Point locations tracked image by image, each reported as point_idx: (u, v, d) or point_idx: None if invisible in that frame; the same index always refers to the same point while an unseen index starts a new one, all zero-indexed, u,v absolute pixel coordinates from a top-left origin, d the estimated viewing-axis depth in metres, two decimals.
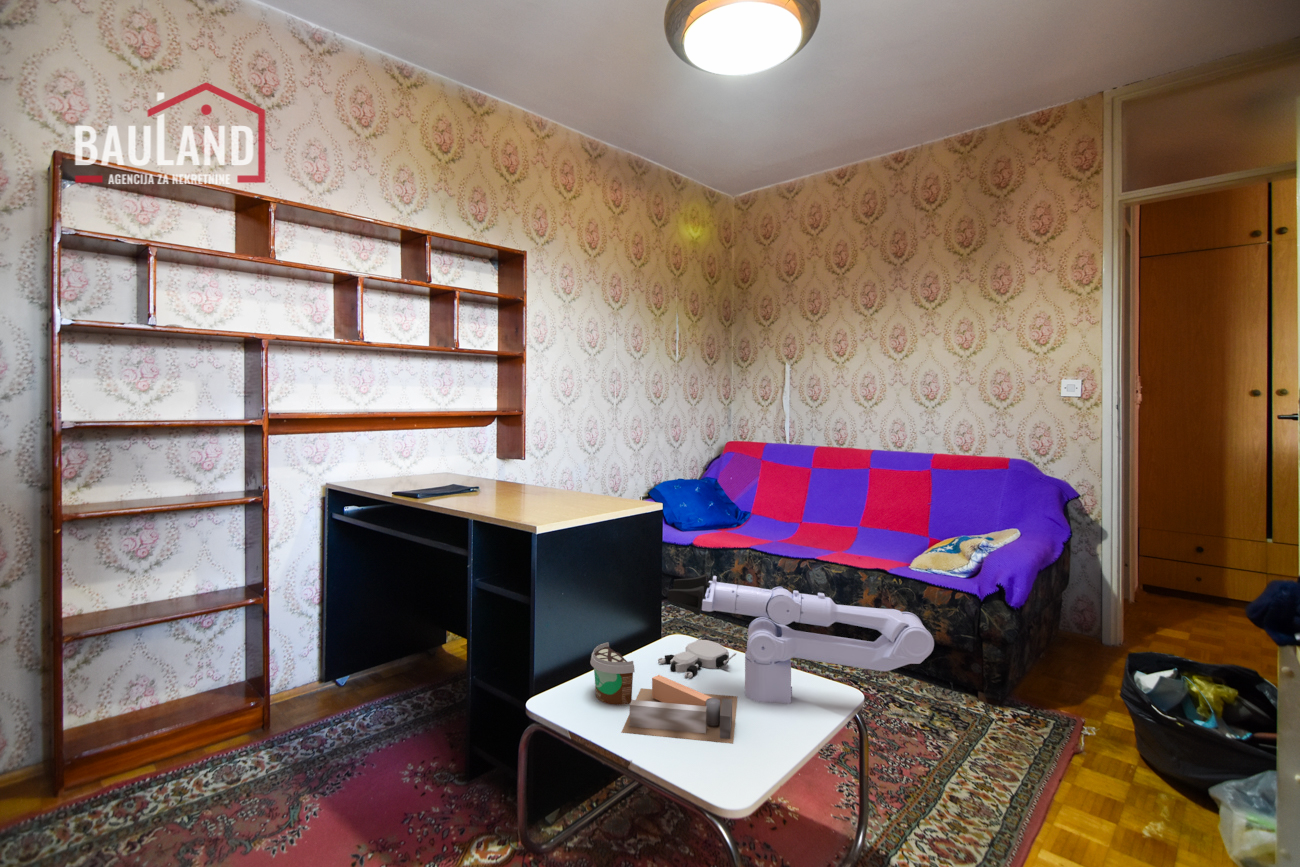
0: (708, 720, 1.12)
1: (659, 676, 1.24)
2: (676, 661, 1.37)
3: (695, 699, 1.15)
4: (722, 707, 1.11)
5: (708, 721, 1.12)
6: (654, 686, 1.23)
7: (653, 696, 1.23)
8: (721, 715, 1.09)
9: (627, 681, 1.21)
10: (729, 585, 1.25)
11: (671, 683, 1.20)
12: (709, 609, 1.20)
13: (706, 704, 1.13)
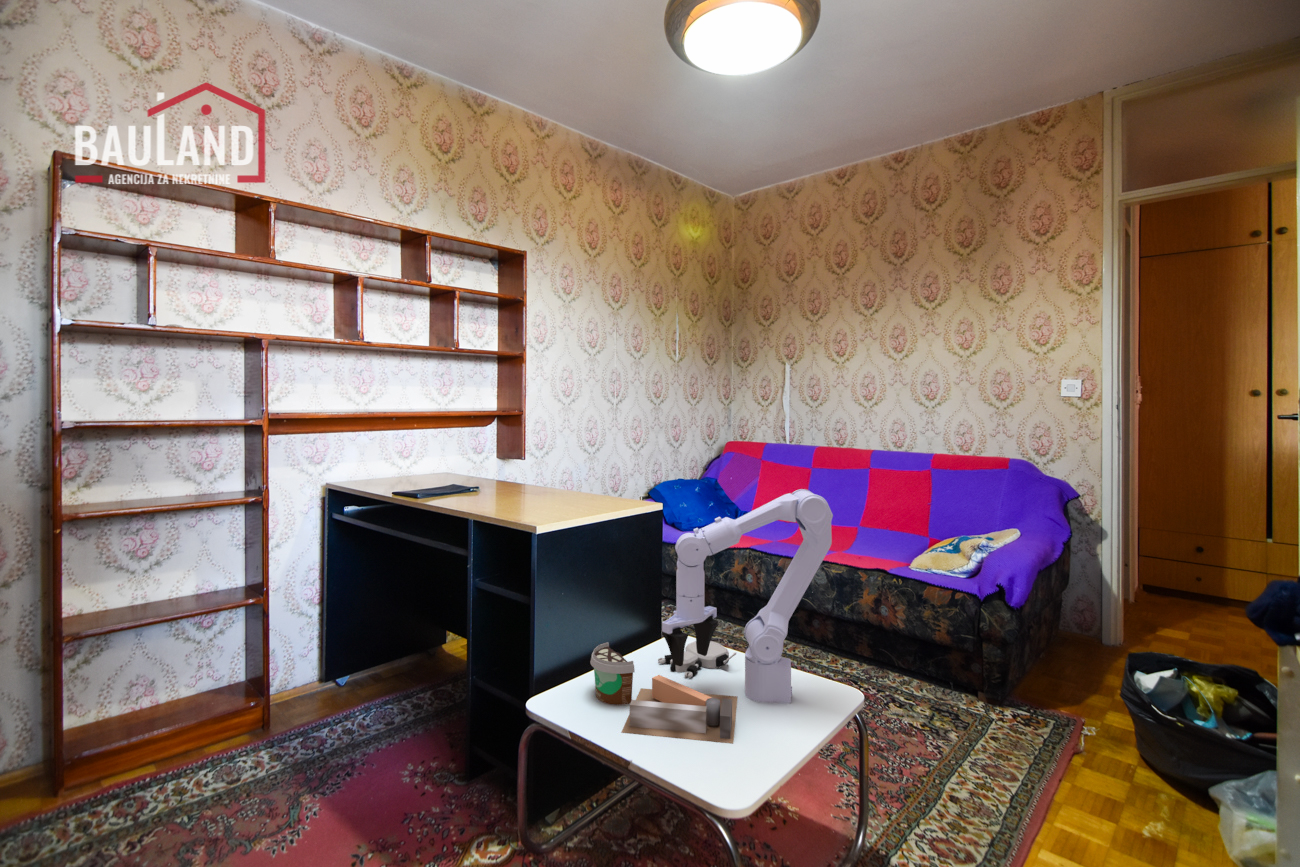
0: (708, 720, 1.12)
1: (659, 676, 1.24)
2: None
3: (695, 699, 1.15)
4: (722, 707, 1.11)
5: (708, 721, 1.12)
6: (654, 686, 1.23)
7: (653, 696, 1.23)
8: (721, 715, 1.09)
9: (627, 681, 1.21)
10: None
11: (671, 683, 1.20)
12: (667, 626, 1.19)
13: (706, 704, 1.13)
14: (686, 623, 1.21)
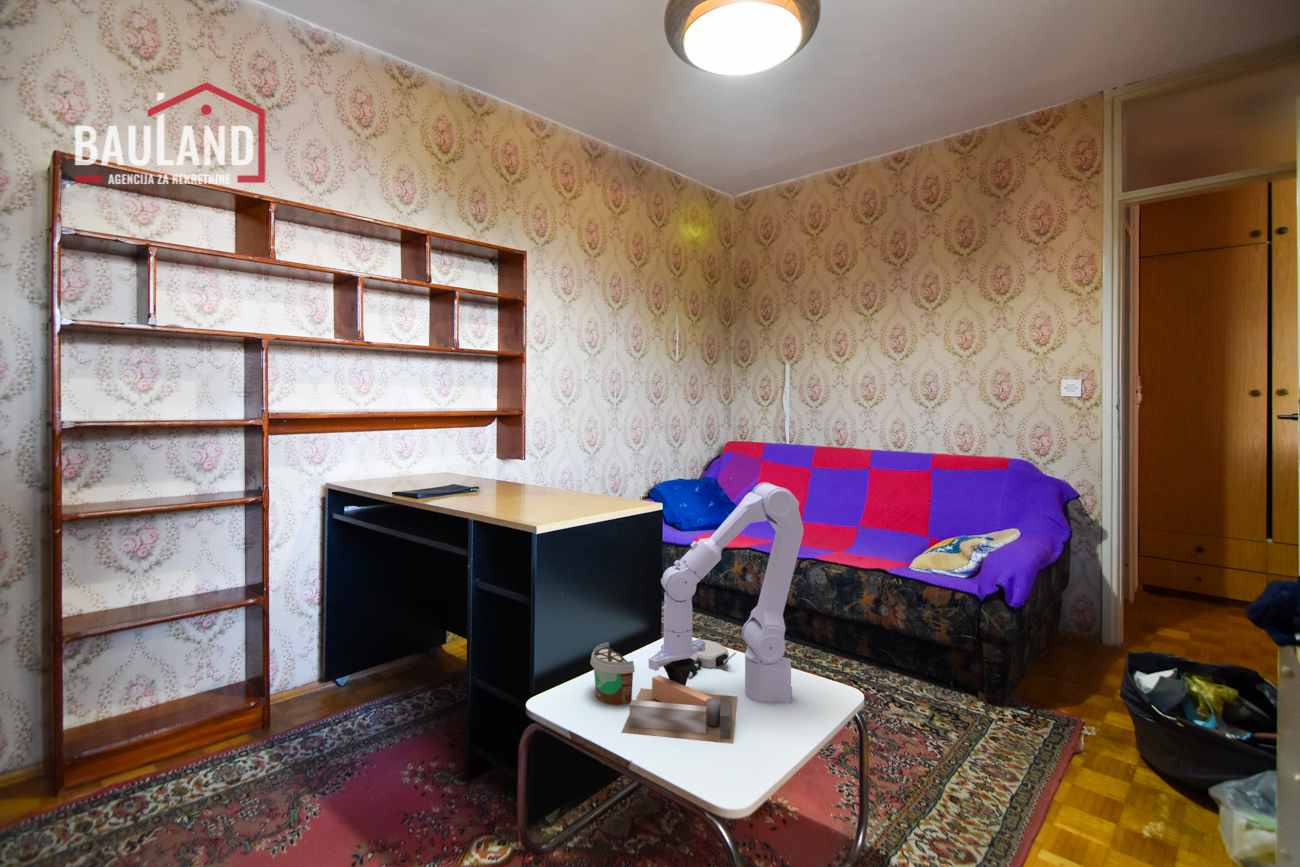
0: (708, 720, 1.12)
1: (659, 676, 1.24)
2: None
3: (695, 699, 1.15)
4: (722, 707, 1.11)
5: (708, 721, 1.12)
6: (654, 686, 1.23)
7: (653, 696, 1.23)
8: (721, 715, 1.09)
9: (627, 681, 1.21)
10: None
11: (671, 683, 1.20)
12: (654, 662, 1.17)
13: (706, 704, 1.13)
14: (673, 659, 1.19)
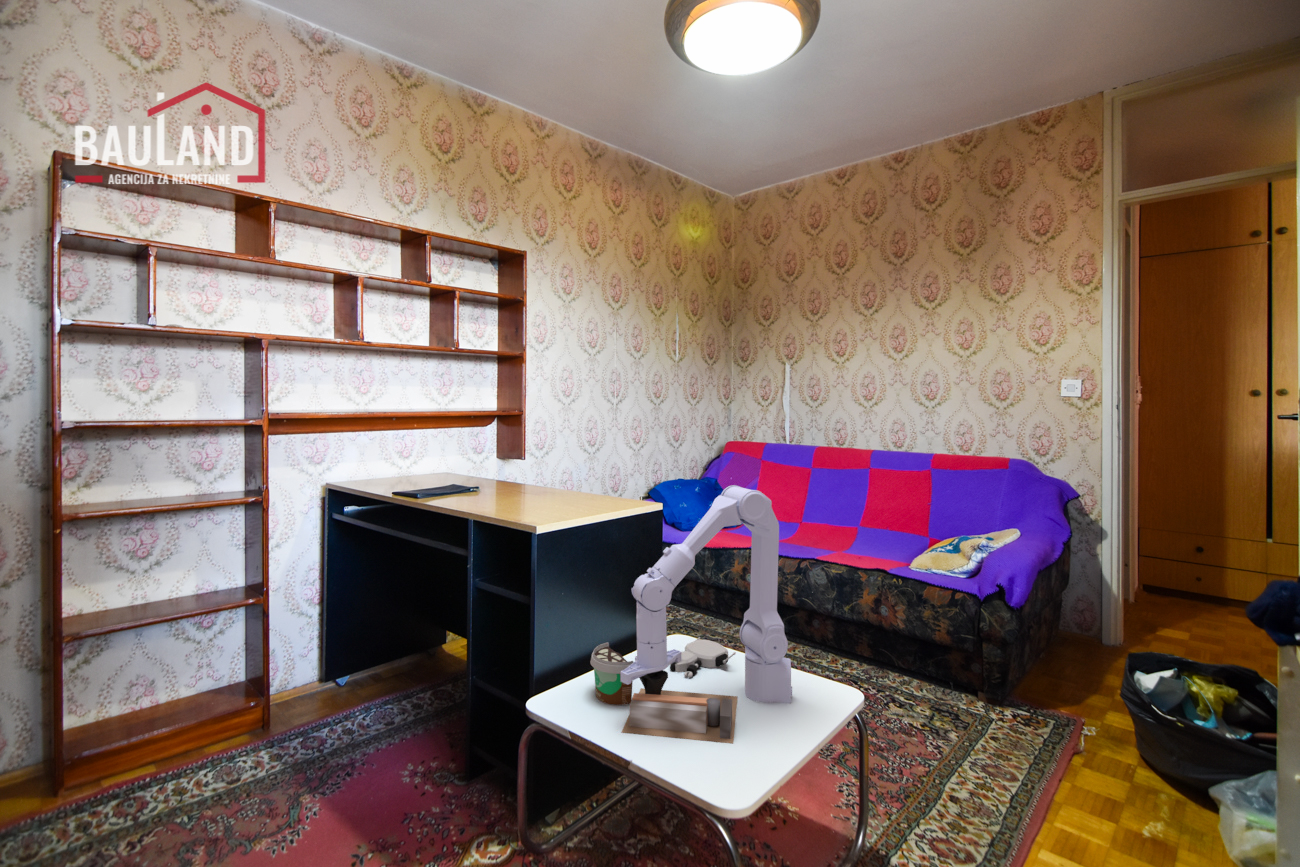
0: (712, 721, 1.12)
1: (636, 694, 1.16)
2: None
3: (693, 704, 1.13)
4: (722, 707, 1.11)
5: (712, 722, 1.12)
6: None
7: None
8: (721, 715, 1.09)
9: None
10: None
11: (657, 697, 1.15)
12: (626, 676, 1.12)
13: (709, 706, 1.12)
14: (646, 672, 1.13)
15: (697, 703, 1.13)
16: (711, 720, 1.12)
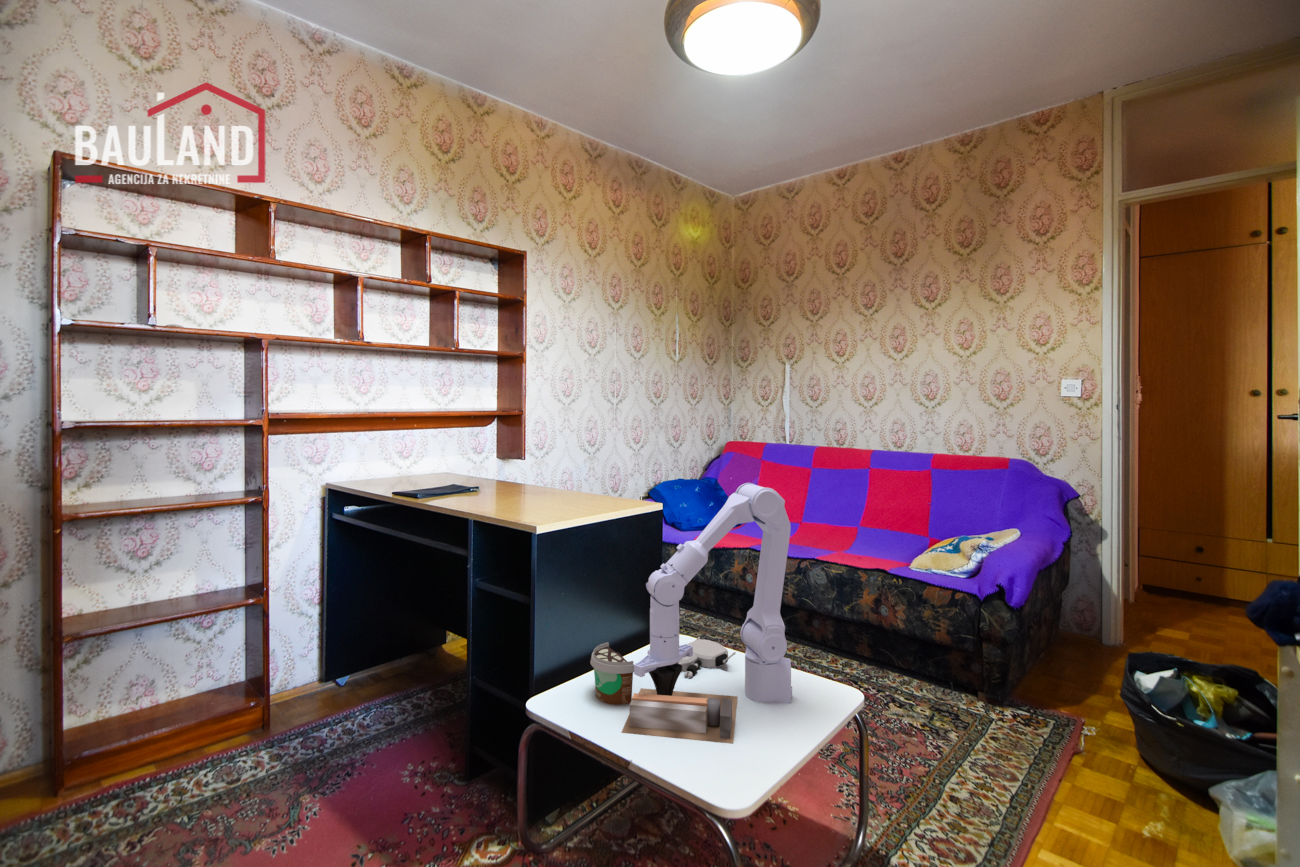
0: (712, 721, 1.12)
1: (636, 694, 1.16)
2: None
3: (693, 704, 1.13)
4: (722, 707, 1.11)
5: (712, 722, 1.12)
6: None
7: None
8: (721, 715, 1.09)
9: (627, 681, 1.21)
10: None
11: (657, 697, 1.14)
12: (639, 668, 1.14)
13: (709, 706, 1.12)
14: (659, 665, 1.16)
15: (697, 703, 1.13)
16: (711, 720, 1.12)
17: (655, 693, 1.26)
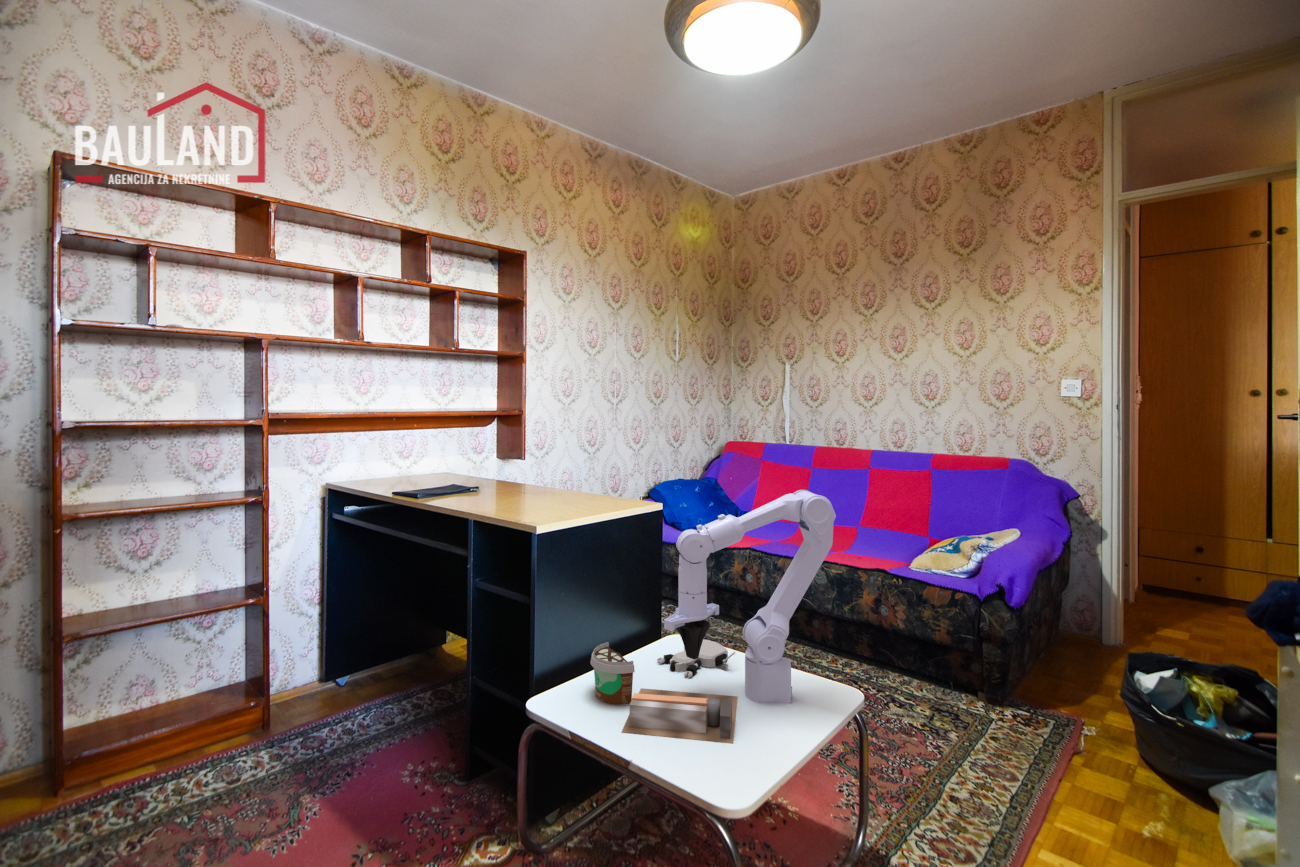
0: (712, 721, 1.12)
1: (636, 694, 1.16)
2: (675, 661, 1.38)
3: (693, 704, 1.13)
4: (722, 707, 1.11)
5: (712, 722, 1.12)
6: None
7: None
8: (721, 715, 1.09)
9: (627, 681, 1.21)
10: None
11: (657, 697, 1.14)
12: (669, 623, 1.18)
13: (709, 706, 1.12)
14: (688, 620, 1.20)
15: (697, 703, 1.13)
16: (711, 720, 1.12)
17: (655, 693, 1.26)
